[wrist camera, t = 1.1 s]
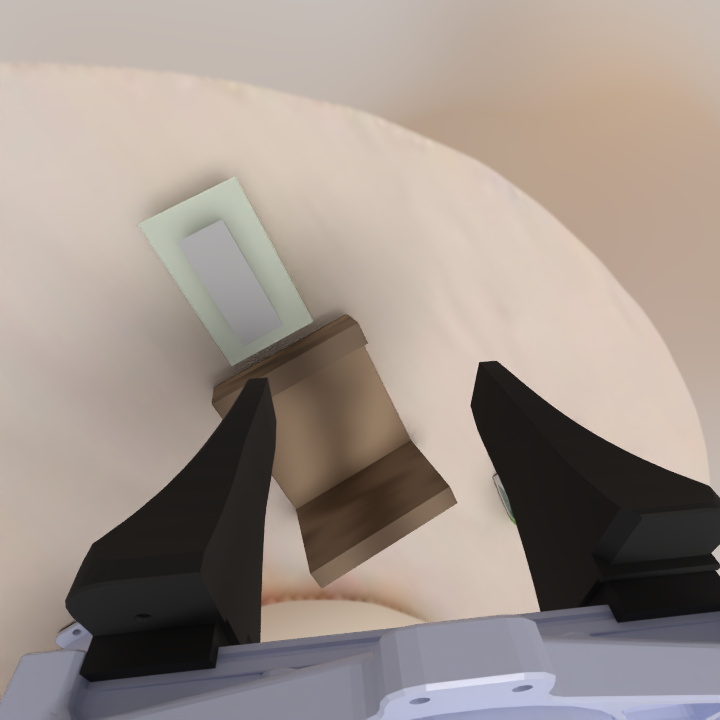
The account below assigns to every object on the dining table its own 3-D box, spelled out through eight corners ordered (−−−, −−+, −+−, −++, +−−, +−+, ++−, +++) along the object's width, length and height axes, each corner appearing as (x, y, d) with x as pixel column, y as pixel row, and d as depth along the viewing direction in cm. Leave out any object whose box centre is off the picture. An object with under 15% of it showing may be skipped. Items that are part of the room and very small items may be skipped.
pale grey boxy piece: (231, 342, 27) (231, 390, 19) (156, 225, 23) (117, 223, 16) (299, 305, 27) (326, 336, 19) (234, 185, 24) (235, 165, 16)
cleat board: (303, 516, 32) (321, 588, 25) (213, 387, 27) (207, 437, 21) (413, 449, 33) (457, 502, 26) (346, 314, 28) (380, 339, 22)
